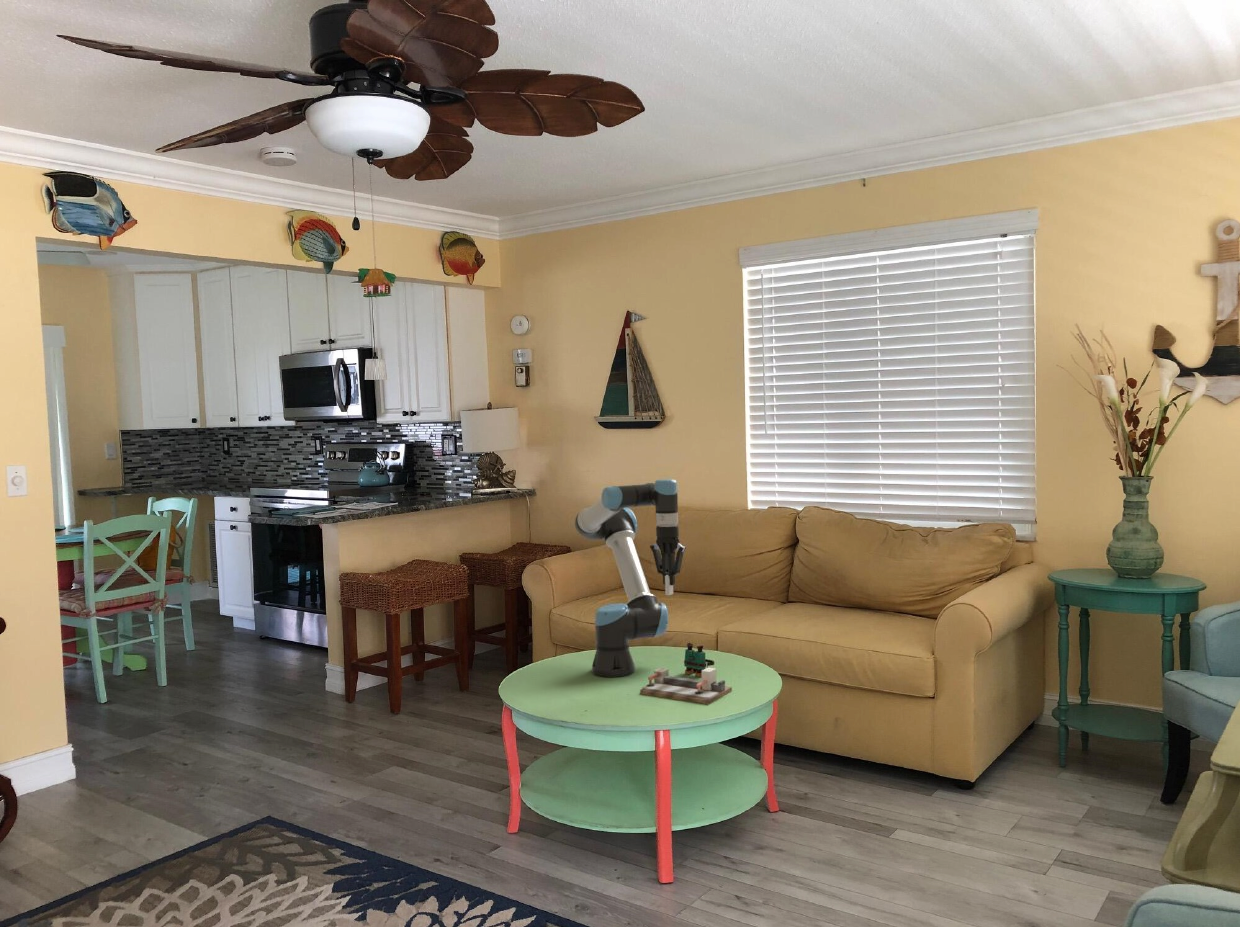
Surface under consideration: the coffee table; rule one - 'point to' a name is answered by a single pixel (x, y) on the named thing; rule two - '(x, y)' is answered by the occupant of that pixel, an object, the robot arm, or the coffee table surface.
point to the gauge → (682, 688)
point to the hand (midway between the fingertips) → (669, 594)
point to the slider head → (707, 679)
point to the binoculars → (695, 660)
